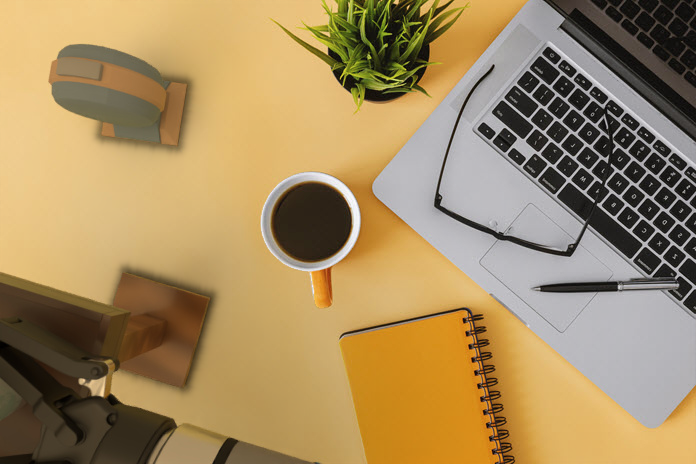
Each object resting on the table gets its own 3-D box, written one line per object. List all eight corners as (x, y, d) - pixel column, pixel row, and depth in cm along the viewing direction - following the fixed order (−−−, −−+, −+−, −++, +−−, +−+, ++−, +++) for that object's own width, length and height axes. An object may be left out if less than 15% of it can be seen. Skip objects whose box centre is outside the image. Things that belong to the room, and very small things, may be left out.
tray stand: (184, 386, 74) (62, 472, 45) (99, 359, 75) (-75, 426, 46) (210, 297, 74) (105, 326, 45) (125, 272, 75) (-31, 284, 46)
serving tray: (75, 499, 45) (50, 520, 41) (-100, 441, 46) (-139, 456, 42) (131, 311, 45) (111, 316, 42) (-44, 258, 46) (-78, 258, 43)
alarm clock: (193, 85, 76) (138, 34, 58) (183, 146, 75) (125, 114, 58) (106, 74, 77) (25, 20, 59) (95, 134, 76) (12, 98, 59)
